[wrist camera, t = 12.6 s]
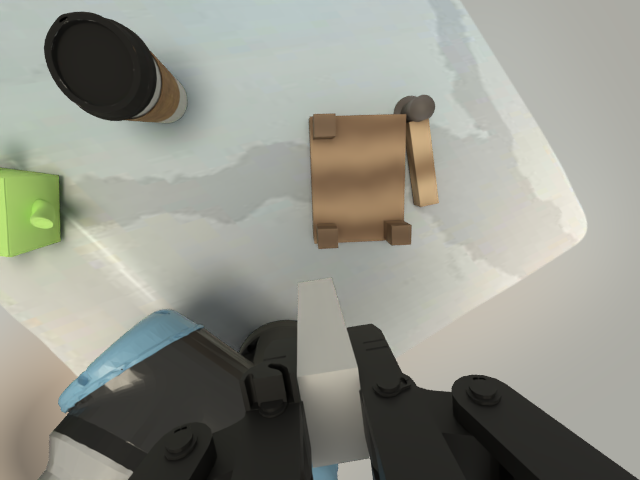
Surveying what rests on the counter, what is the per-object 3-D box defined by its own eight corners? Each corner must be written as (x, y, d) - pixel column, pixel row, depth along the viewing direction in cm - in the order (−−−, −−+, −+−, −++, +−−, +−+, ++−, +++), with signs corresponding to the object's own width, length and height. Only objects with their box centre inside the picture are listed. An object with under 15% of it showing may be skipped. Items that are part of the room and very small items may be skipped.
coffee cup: (173, 50, 41) (103, -15, 26) (210, 114, 42) (163, 87, 28) (115, 83, 41) (14, 37, 26) (154, 145, 43) (80, 135, 28)
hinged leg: (399, 104, 43) (410, 97, 39) (419, 100, 43) (433, 92, 39) (413, 204, 46) (425, 209, 42) (432, 200, 46) (446, 204, 42)
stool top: (421, 233, 48) (443, 245, 40) (313, 238, 47) (316, 251, 40) (426, 95, 44) (452, 81, 36) (308, 98, 43) (309, 85, 35)
